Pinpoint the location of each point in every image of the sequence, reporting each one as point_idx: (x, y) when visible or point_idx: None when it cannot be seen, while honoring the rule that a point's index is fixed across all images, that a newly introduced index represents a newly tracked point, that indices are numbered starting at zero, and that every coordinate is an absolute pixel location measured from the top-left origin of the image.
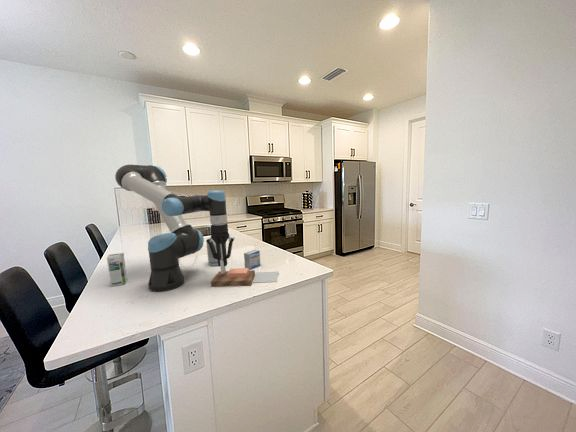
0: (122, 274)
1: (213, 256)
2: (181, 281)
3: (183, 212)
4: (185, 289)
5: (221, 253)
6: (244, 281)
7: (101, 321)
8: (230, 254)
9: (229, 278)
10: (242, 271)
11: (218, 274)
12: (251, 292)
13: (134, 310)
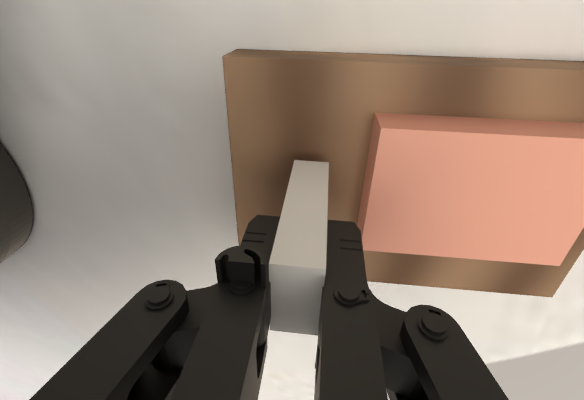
0: None
1: (146, 383)
2: (8, 209)
3: None
4: (104, 250)
5: None
6: (498, 286)
7: (5, 390)
8: (475, 376)
9: None
10: (525, 228)
11: (252, 148)
12: (511, 332)
13: (41, 363)
